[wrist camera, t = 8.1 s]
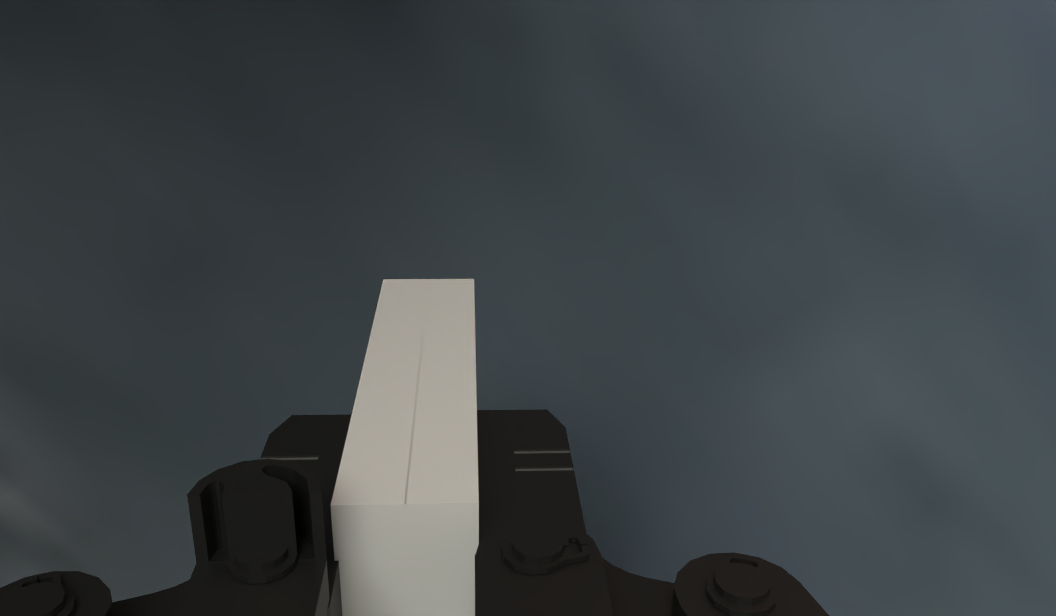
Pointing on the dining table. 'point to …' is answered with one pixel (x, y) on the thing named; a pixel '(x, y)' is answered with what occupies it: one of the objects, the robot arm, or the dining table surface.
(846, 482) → the dining table surface
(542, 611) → the robot arm
